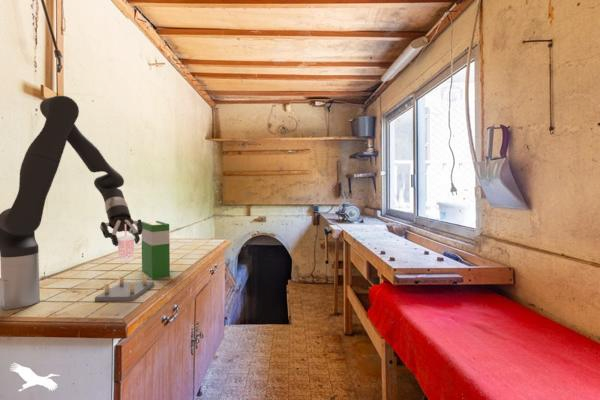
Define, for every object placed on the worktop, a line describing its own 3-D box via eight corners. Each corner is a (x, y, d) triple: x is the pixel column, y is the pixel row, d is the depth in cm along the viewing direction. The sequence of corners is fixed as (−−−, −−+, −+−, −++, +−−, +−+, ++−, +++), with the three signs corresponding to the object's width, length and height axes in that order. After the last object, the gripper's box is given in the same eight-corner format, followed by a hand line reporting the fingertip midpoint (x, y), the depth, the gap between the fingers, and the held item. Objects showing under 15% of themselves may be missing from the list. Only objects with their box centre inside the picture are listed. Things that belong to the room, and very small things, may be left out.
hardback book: (142, 270, 135) (141, 221, 135) (158, 267, 140) (157, 220, 140) (152, 279, 122) (151, 225, 122) (169, 275, 127) (169, 224, 127)
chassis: (132, 300, 98) (132, 286, 98) (94, 301, 98) (94, 287, 98) (154, 285, 114) (154, 273, 114) (121, 285, 114) (121, 273, 114)
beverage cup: (136, 257, 110) (136, 222, 109) (134, 261, 104) (133, 224, 104) (118, 259, 108) (117, 223, 107) (114, 263, 102) (114, 225, 101)
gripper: (97, 204, 105) (106, 240, 97) (139, 203, 115) (150, 235, 108) (94, 217, 109) (102, 252, 101) (135, 215, 119) (145, 246, 112)
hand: (127, 243), depth 104 cm, fingers closed on beverage cup, 6 cm apart
